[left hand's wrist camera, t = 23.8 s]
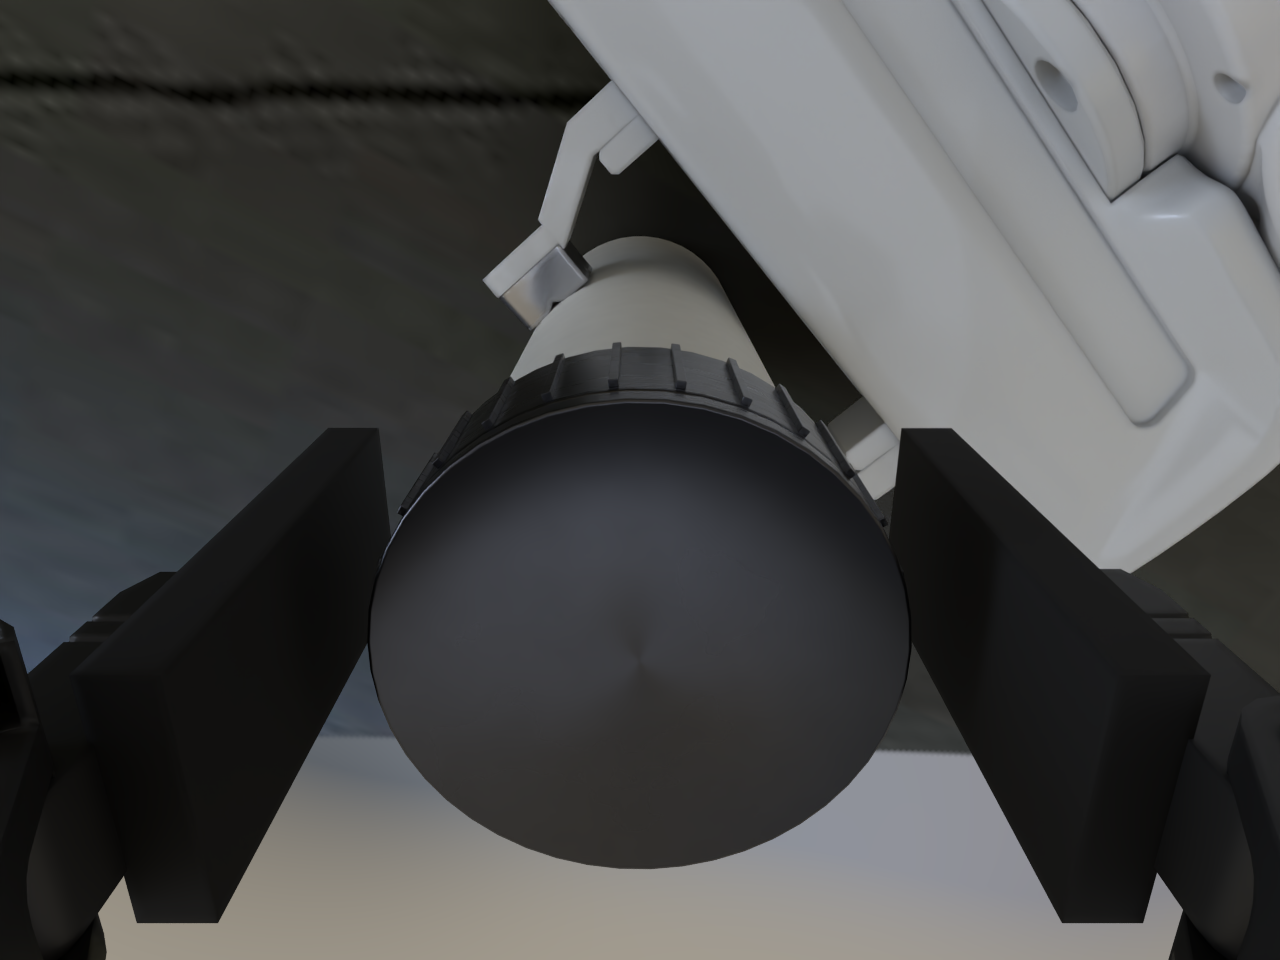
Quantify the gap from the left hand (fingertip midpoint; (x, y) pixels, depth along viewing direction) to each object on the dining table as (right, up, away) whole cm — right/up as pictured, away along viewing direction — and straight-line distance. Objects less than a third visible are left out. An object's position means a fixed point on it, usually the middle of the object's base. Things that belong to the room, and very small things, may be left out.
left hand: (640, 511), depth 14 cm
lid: (0, -1, -4) cm, 4 cm away
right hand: (-1, +2, +7) cm, 7 cm away
